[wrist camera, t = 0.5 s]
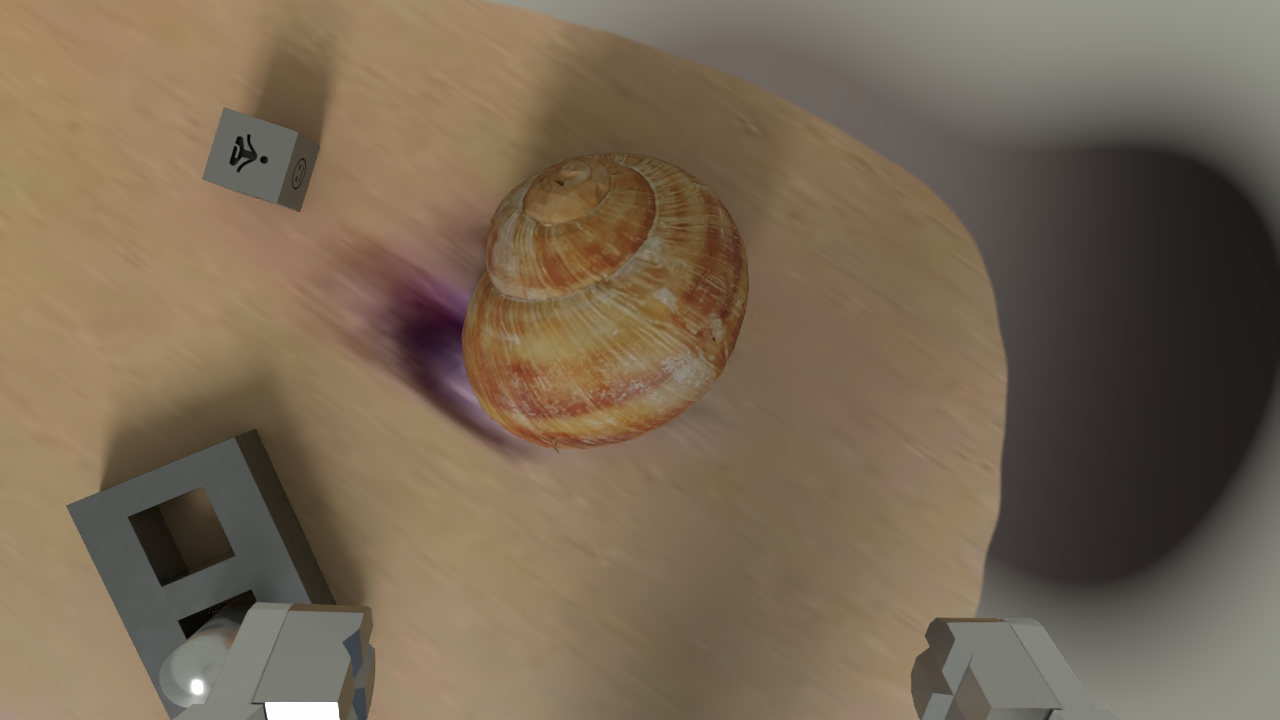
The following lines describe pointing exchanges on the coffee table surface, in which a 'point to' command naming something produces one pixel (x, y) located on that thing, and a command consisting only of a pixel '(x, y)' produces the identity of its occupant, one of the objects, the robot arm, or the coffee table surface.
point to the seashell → (603, 301)
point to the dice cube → (261, 160)
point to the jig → (178, 597)
